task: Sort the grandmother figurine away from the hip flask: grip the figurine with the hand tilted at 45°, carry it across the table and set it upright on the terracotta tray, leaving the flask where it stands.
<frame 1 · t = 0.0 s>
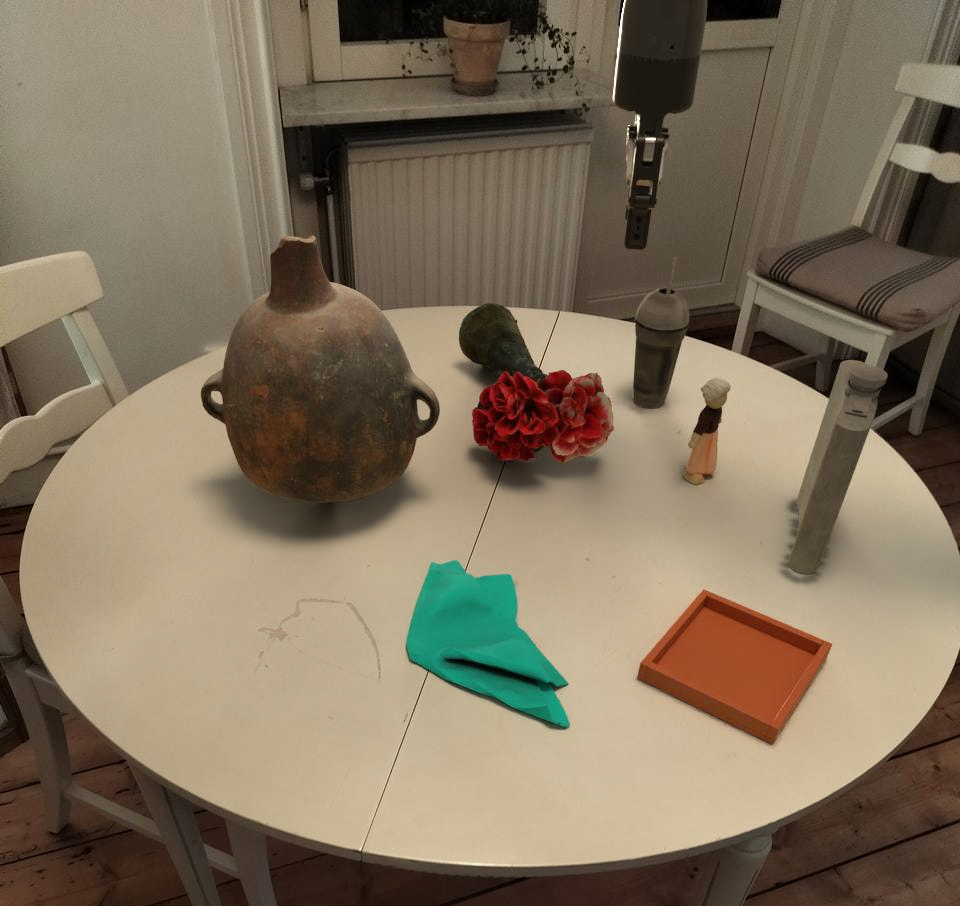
hand: (634, 234, 89), 28 cm above the table, tool pointing down, fingers open, 8 cm apart
cloth: (475, 643, 85), on the table
figure tray: (733, 668, 83), on the table
carnation: (515, 420, 118), on the table
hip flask: (809, 535, 99), on the table
grandmother figurine: (698, 474, 108), on the table
jug: (330, 491, 104), on the table
beverage cup: (648, 402, 122), on the table
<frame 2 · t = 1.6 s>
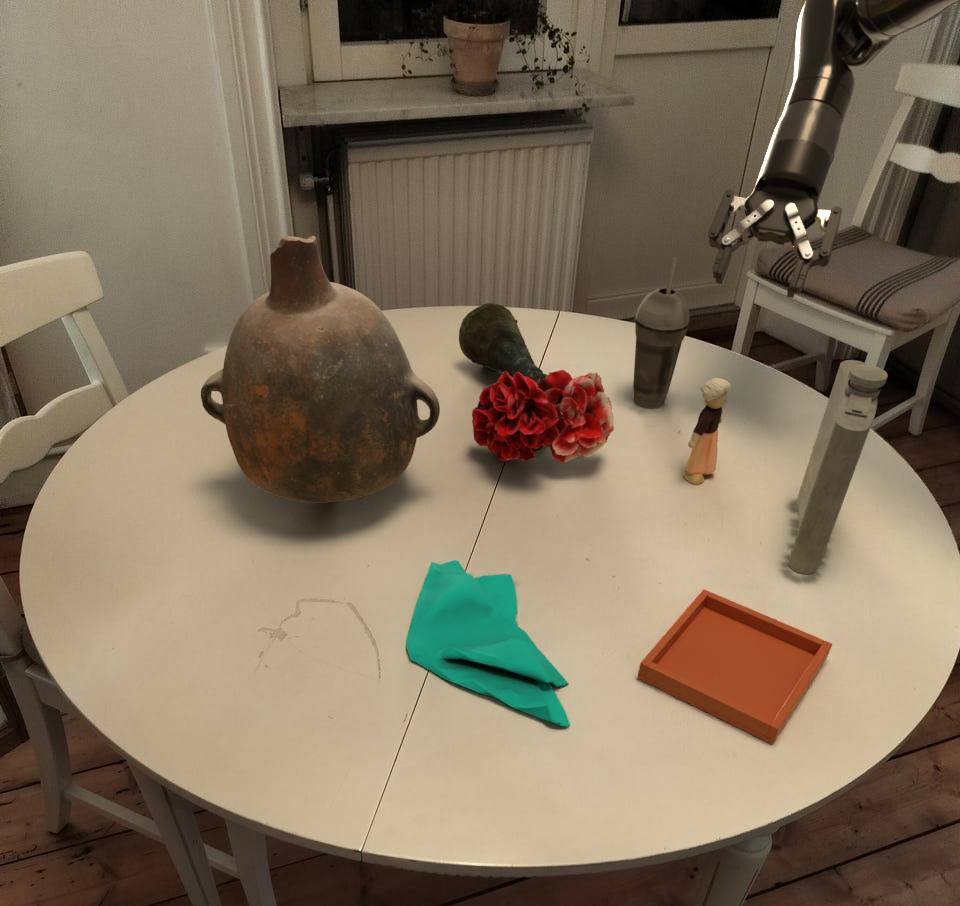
hand: (754, 287, 102), 20 cm above the table, tool tilted 45°, fingers open, 8 cm apart
nothing on the table moved.
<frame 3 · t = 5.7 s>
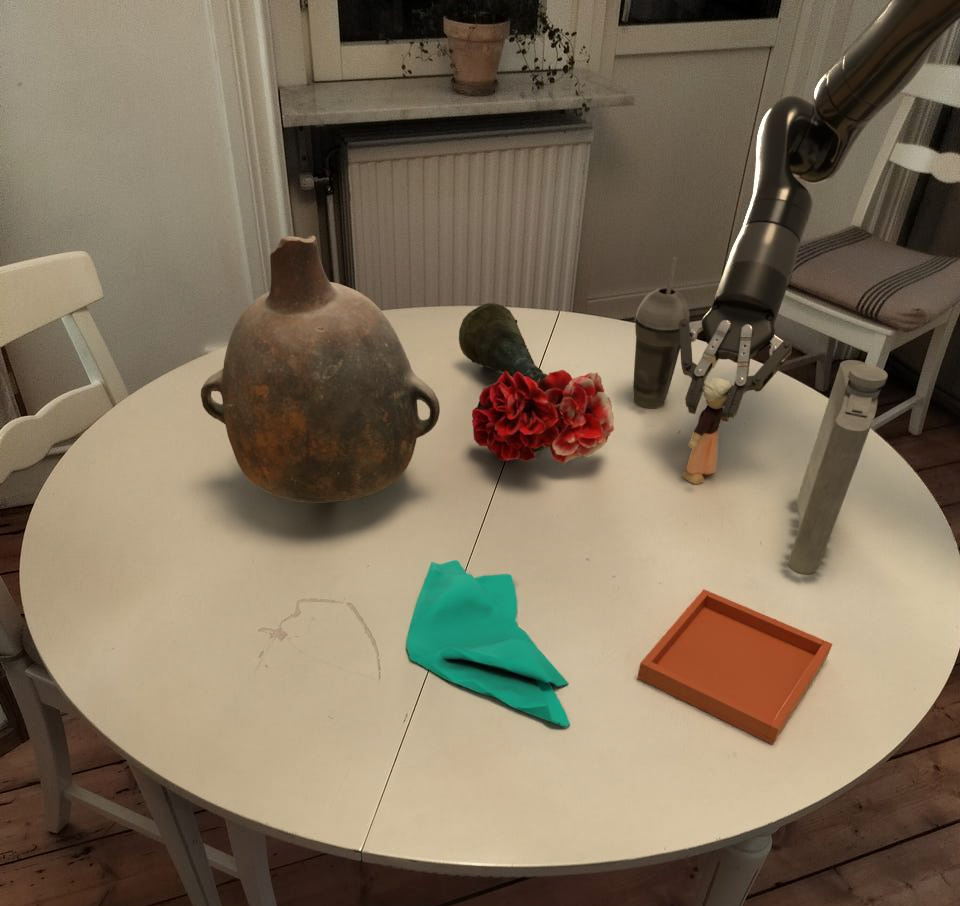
hand: (708, 414, 101), 9 cm above the table, tool tilted 45°, fingers closed on grandmother figurine, 3 cm apart
grandmother figurine: (698, 474, 108), on the table, touching gripper
everything else where it was.
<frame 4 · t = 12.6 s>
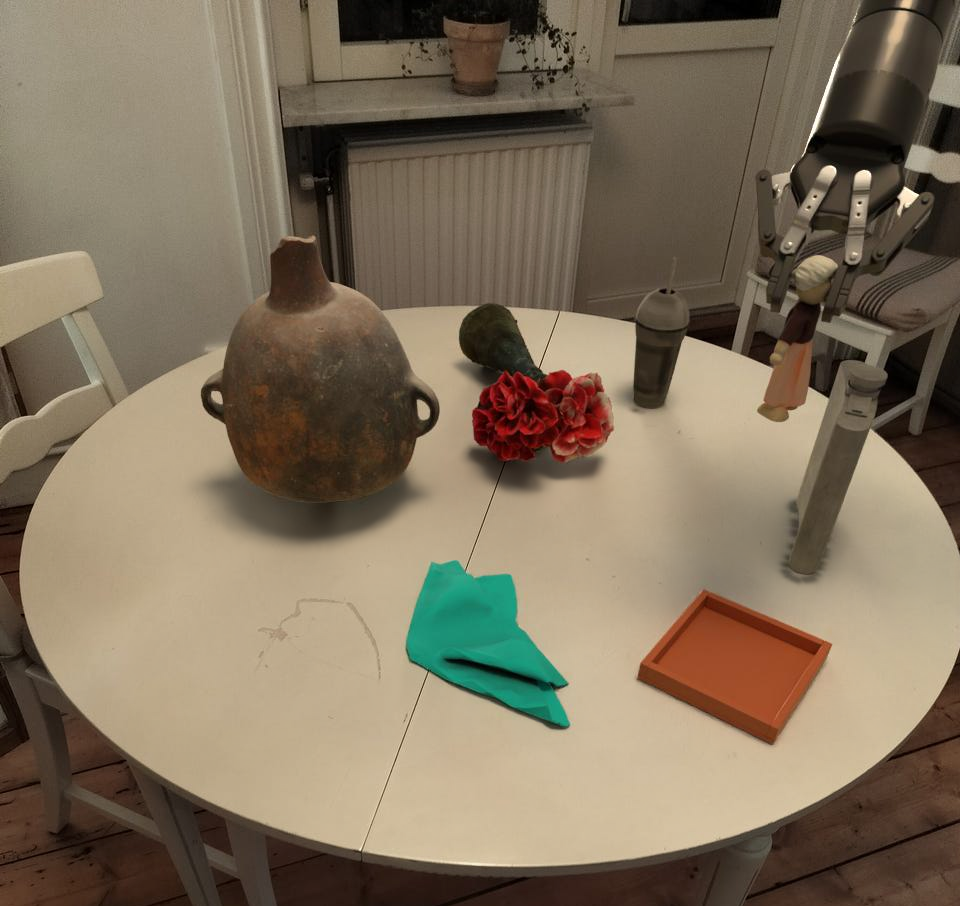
hand: (801, 312, 67), 32 cm above the table, tool tilted 45°, fingers closed on grandmother figurine, 3 cm apart
grandmother figurine: (779, 409, 74), point 22 cm above the table, touching gripper
everything else where it was.
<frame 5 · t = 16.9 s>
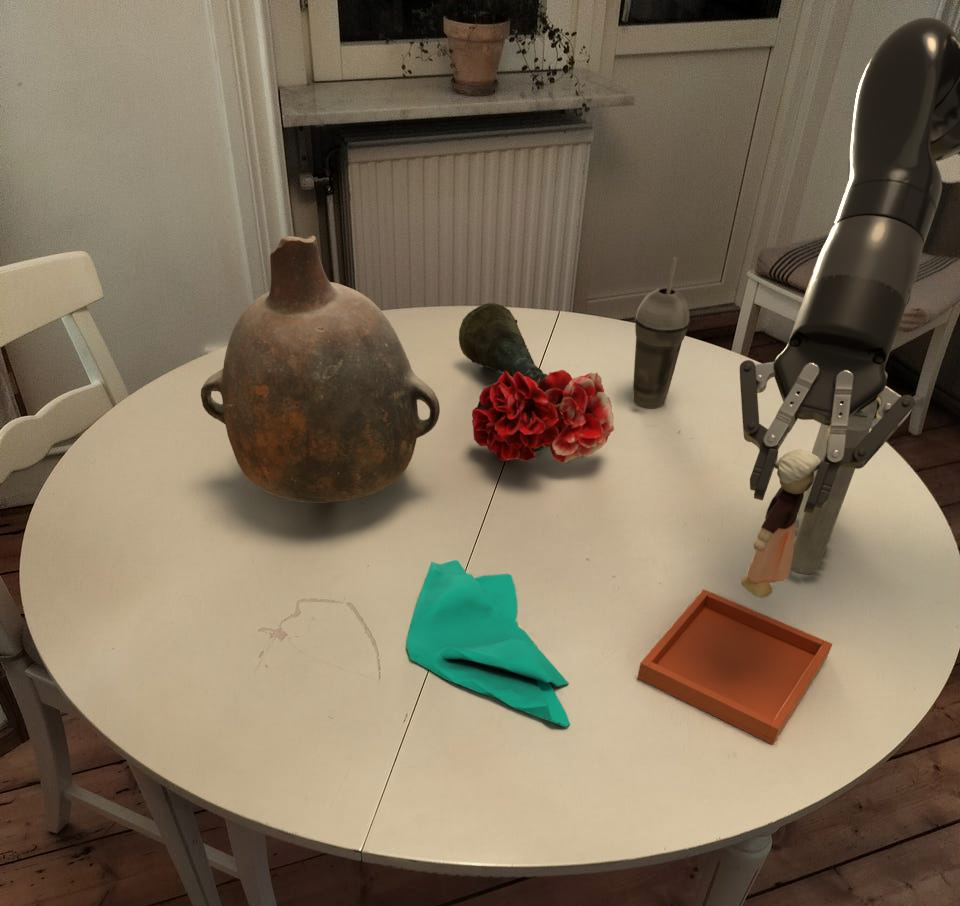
hand: (783, 503, 68), 20 cm above the table, tool tilted 45°, fingers closed on grandmother figurine, 3 cm apart
grandmother figurine: (763, 579, 75), point 11 cm above the table, touching gripper
everything else where it was.
when the fingers open (10 cm above the table, at t = 20.0 s): grandmother figurine stays where it is, resting on figure tray.
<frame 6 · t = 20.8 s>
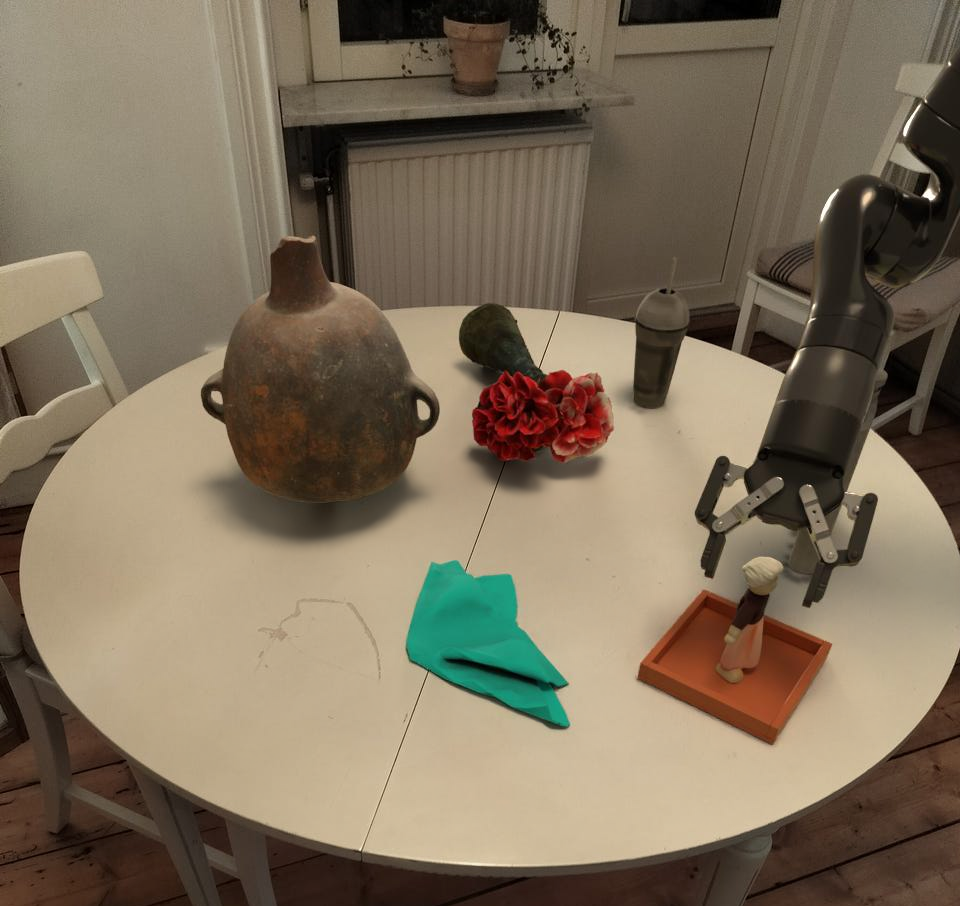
hand: (756, 591, 75), 11 cm above the table, tool tilted 45°, fingers open, 8 cm apart
grandmother figurine: (735, 664, 83), resting on figure tray
everything else where it was.
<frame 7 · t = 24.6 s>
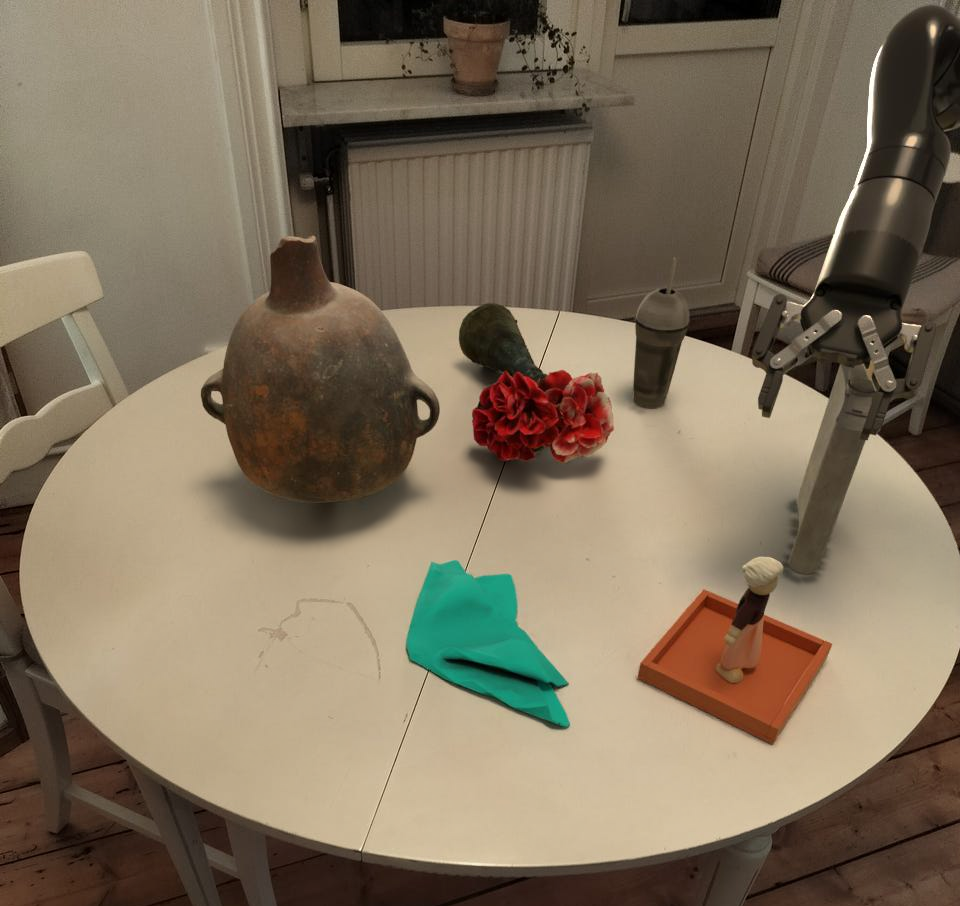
hand: (814, 425, 76), 21 cm above the table, tool tilted 45°, fingers open, 8 cm apart
nothing on the table moved.
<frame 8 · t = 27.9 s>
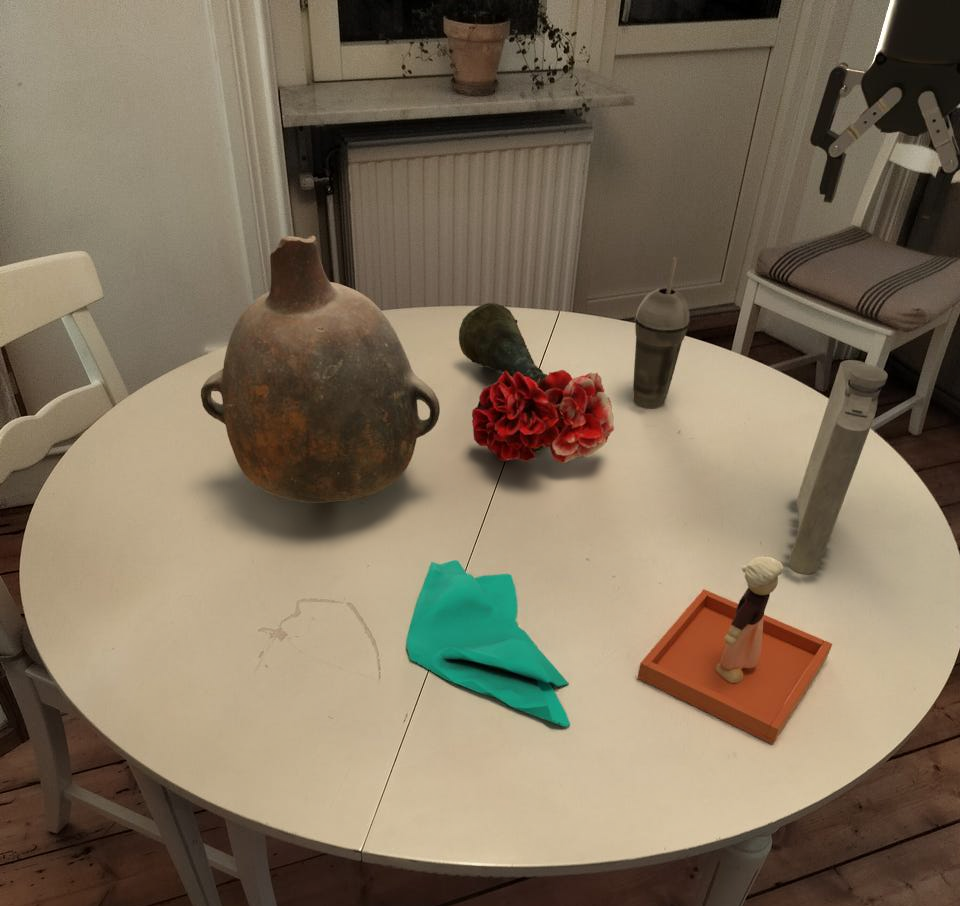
hand: (876, 208, 78), 34 cm above the table, tool pointing down, fingers open, 8 cm apart
nothing on the table moved.
at the end: grandmother figurine inside the target area in the figure tray (0.2 cm from its centre), point 0.4 cm above the figure tray's base; grandmother figurine tilted 0°; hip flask moved 0.2 cm from its start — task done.
